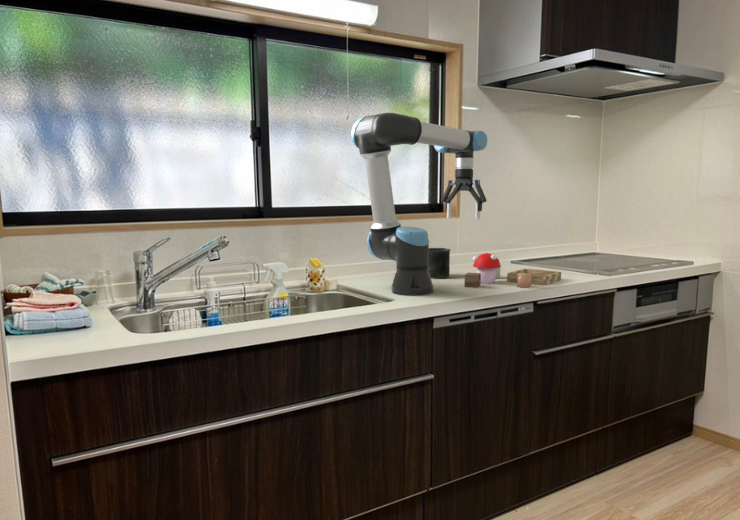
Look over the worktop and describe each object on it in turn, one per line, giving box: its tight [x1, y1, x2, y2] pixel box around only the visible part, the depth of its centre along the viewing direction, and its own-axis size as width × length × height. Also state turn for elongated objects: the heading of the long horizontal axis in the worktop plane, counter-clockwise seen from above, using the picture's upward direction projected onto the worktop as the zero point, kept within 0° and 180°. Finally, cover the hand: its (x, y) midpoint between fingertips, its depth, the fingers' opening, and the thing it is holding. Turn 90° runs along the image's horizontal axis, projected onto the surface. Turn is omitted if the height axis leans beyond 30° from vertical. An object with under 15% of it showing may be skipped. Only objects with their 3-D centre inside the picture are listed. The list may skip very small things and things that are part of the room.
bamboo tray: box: [506, 268, 562, 286], centre depth 221 cm, size 16×16×3 cm
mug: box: [428, 247, 451, 279], centre depth 233 cm, size 11×15×12 cm
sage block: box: [495, 267, 501, 280], centre depth 229 cm, size 5×5×6 cm
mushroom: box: [472, 252, 502, 285], centre depth 217 cm, size 11×11×12 cm
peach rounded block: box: [516, 273, 532, 289], centre depth 207 cm, size 5×5×5 cm
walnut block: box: [464, 272, 482, 289], centre depth 209 cm, size 5×5×5 cm
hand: (463, 218), depth 232 cm, fingers open, 13 cm apart
